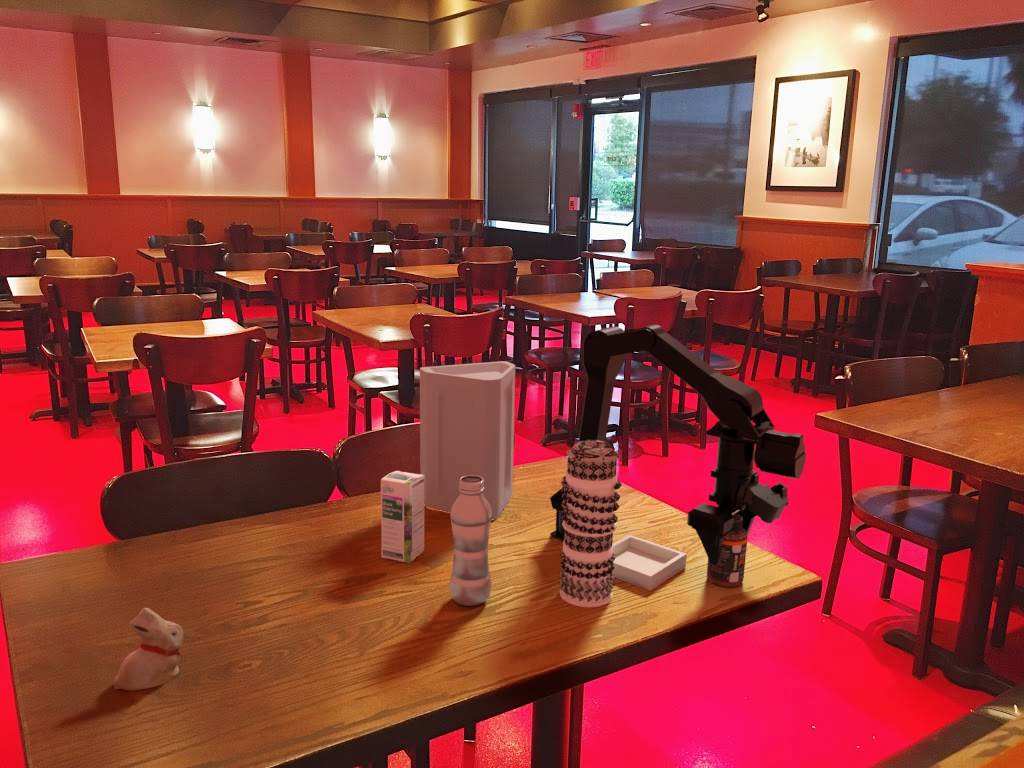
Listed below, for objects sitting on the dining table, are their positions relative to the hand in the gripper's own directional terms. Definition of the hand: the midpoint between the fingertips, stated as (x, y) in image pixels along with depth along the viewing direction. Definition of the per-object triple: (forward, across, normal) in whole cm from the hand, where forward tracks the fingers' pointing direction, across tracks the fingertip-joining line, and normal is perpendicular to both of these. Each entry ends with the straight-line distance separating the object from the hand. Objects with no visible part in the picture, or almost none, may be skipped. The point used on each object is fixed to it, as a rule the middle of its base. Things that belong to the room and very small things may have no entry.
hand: (726, 554), depth 135 cm
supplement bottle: (+5, 0, 0) cm, 5 cm away
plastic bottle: (+5, -34, +26) cm, 43 cm away
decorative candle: (+5, -20, +14) cm, 25 cm away
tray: (+4, -6, +13) cm, 15 cm away
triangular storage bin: (+5, -5, +52) cm, 52 cm away
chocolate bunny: (+5, -77, +42) cm, 88 cm away
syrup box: (+5, -30, +46) cm, 55 cm away
